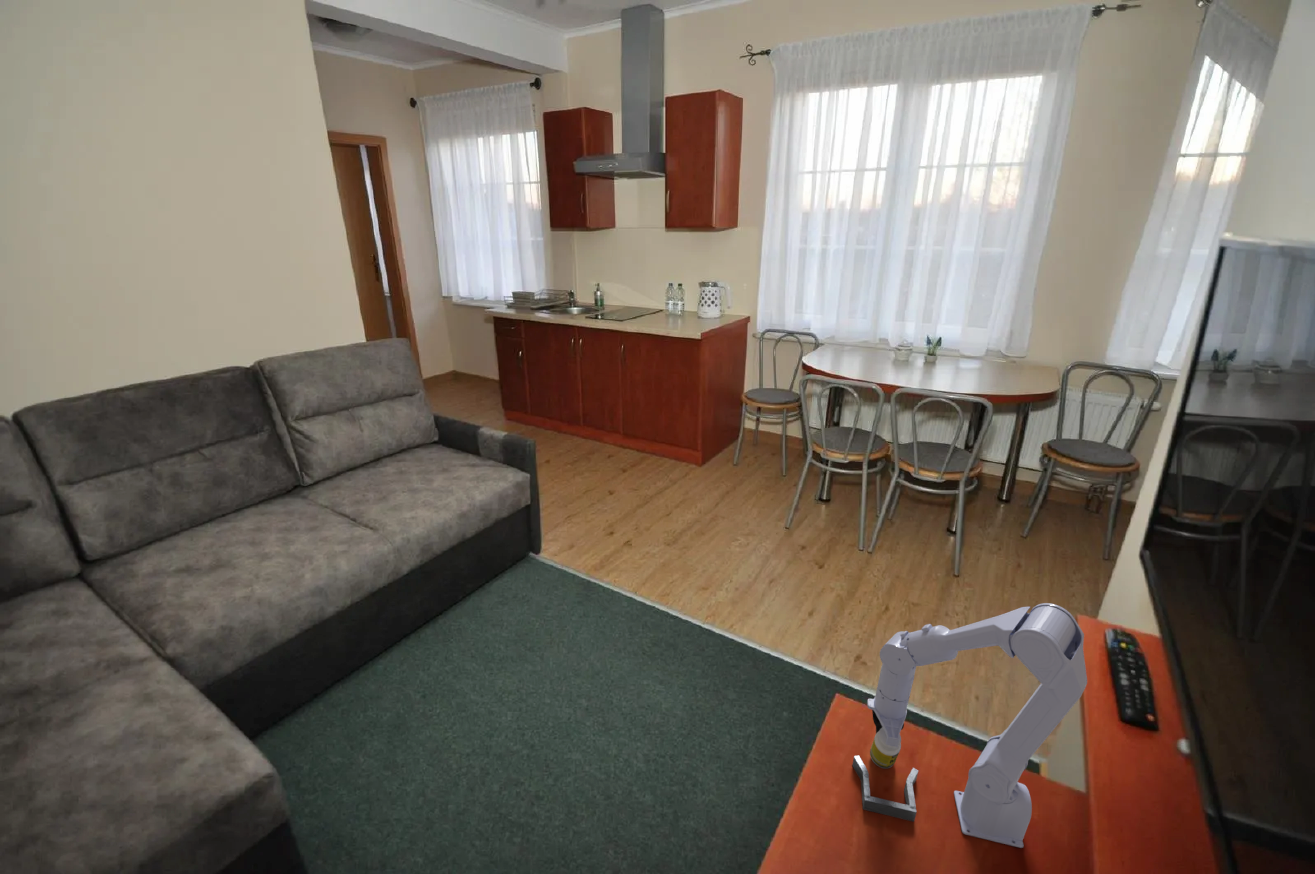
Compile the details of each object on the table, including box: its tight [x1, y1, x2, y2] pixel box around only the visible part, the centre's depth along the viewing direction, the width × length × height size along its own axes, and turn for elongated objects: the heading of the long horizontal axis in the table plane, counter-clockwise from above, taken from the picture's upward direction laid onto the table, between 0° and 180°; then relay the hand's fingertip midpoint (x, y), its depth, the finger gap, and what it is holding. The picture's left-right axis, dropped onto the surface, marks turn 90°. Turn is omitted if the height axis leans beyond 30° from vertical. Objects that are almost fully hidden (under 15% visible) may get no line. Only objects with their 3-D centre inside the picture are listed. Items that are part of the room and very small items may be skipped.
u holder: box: [851, 755, 919, 823], centre depth 107 cm, size 12×9×2 cm
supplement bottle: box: [869, 727, 902, 769], centre depth 111 cm, size 5×5×8 cm
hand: (882, 741), depth 115 cm, fingers closed, pressing on supplement bottle
